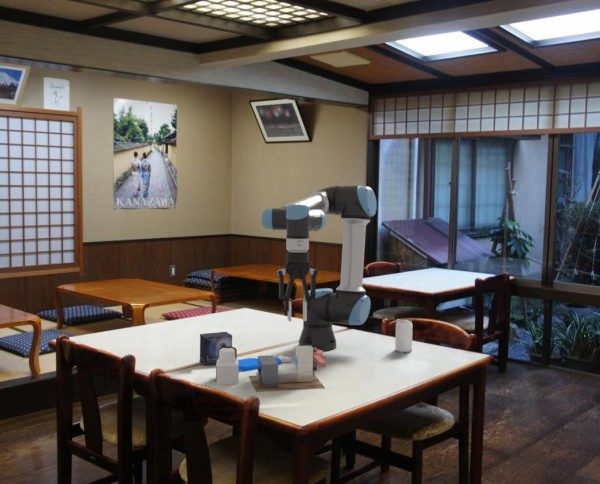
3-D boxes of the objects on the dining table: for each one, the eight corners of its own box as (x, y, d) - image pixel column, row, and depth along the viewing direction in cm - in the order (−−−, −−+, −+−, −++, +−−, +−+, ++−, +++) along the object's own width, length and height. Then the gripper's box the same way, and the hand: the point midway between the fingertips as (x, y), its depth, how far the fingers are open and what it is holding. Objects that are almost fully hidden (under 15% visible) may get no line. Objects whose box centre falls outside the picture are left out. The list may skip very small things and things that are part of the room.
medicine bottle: (216, 380, 228) (216, 345, 226) (238, 380, 228) (238, 344, 227) (216, 387, 220) (215, 350, 219) (238, 386, 221) (238, 350, 220)
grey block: (257, 378, 227) (257, 356, 226) (272, 377, 228) (272, 355, 227) (262, 388, 216) (262, 364, 215) (278, 387, 217) (278, 364, 216)
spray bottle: (244, 367, 234) (297, 356, 251) (225, 361, 242) (277, 351, 259) (243, 376, 234) (297, 364, 251) (224, 369, 242) (277, 359, 259)
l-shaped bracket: (256, 381, 223) (256, 347, 222) (310, 378, 227) (310, 345, 226) (257, 384, 219) (257, 350, 219) (312, 381, 223) (312, 348, 222)
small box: (205, 366, 245) (205, 337, 244) (199, 362, 251) (199, 333, 250) (232, 363, 250) (232, 334, 249) (226, 358, 256) (226, 331, 255)
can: (411, 352, 267) (412, 322, 265) (394, 351, 268) (395, 321, 267) (412, 348, 273) (412, 319, 272) (395, 348, 274) (396, 318, 273)
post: (307, 371, 240) (308, 356, 239) (316, 370, 240) (316, 356, 240) (309, 373, 237) (309, 358, 236) (318, 373, 237) (318, 358, 237)
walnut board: (248, 378, 230) (248, 375, 230) (312, 375, 234) (312, 372, 234) (256, 395, 212) (256, 391, 212) (325, 391, 217) (325, 388, 217)
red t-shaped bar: (301, 355, 241) (301, 346, 240) (320, 354, 242) (320, 345, 242) (312, 368, 224) (312, 358, 223) (333, 367, 225) (333, 357, 225)
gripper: (273, 252, 222) (273, 323, 224) (326, 251, 226) (325, 321, 228) (269, 250, 229) (269, 319, 231) (320, 249, 233) (320, 317, 235)
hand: (297, 320), depth 229 cm, fingers open, 4 cm apart
